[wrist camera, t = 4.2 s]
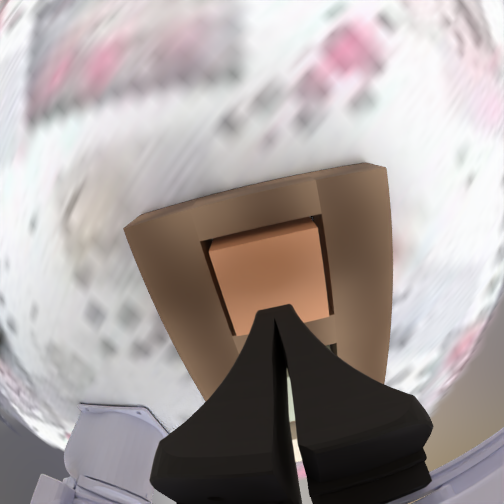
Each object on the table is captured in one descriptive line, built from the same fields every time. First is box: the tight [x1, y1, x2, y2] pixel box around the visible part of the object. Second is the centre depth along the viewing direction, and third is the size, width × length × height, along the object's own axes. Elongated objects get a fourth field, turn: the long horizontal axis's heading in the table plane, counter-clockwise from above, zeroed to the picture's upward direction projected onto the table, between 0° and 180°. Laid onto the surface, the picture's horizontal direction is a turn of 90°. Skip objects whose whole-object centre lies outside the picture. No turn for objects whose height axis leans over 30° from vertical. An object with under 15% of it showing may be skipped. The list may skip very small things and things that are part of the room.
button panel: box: [123, 163, 393, 423], centre depth 18 cm, size 13×25×2 cm, turn 13°
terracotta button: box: [209, 217, 329, 336], centre depth 15 cm, size 5×5×2 cm
